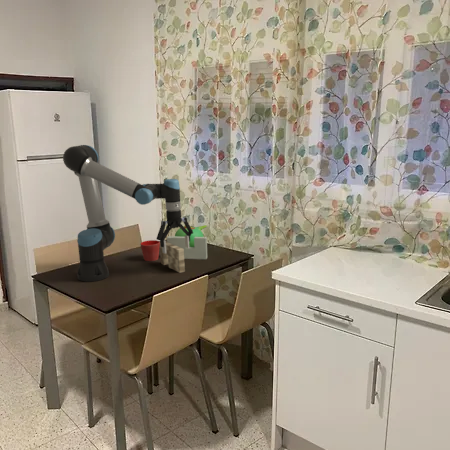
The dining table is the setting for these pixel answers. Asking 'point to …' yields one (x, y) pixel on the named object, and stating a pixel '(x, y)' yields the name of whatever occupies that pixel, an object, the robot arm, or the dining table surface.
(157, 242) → the flower pot
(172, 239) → the sage slotted rail
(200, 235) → the green rounded piece
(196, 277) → the dining table surface
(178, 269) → the birch slotted plate
